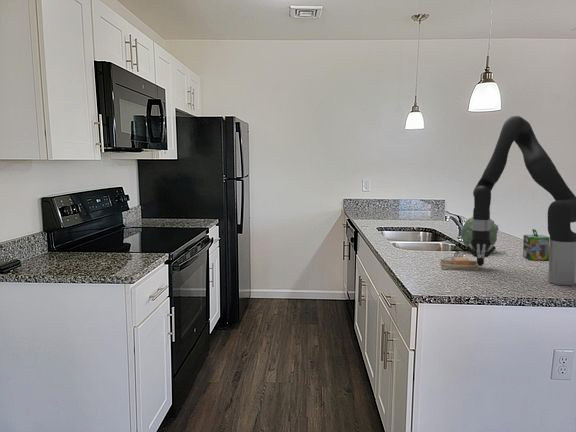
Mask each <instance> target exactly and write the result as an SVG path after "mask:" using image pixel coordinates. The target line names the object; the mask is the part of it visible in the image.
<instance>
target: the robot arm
mask: <svg viewBox="0 0 576 432" xmlns="http://www.w3.org/2000/svg"><path fill="white" fill-rule="evenodd" d="M513 143H515V144H516V145H517V146H518V149H519V150H520V151H521V154H522V158H523V162H524V166H525V168H526V170H527V172H528V173H529V175H530V176H531V178H532V180H533V181H534V182H535V183H536V184H537V185H538V186H540V187H541V188H542V189H544V190H545V191H546V192H548V194H550V195H551V196H552V197H553V199H554V201H552V202H551V203H550V204H549V206H548V208H547V232H548V234H549V238H550V240H549V260H548V276H547V278H548V279H547V281H548V282H549V283H551V284H554V285H556V286H557V285H558V286H575V285H576V232H574V231H573V230H572V228H571V223H576V195H575V194H574V192H573V191H572V190H571V189H570V188H569V186H568V184H567V183H566V182H565V180H564V179H563V177H562V175H561V174H560V172H559V171H558V169H557V167H556V166H555V164H554V162H553V161H552V159H551V157H550V156H549V154H548V153H547V152H546V151H545V149H544V148H543V146H542V145H541V144H540V142H539V141H538V139H537V136H536V134H535V132H534V130H533V127H532V126H531V124H530V122H529V121H527V120H526V119H525V118H523V117H521V116H520V115H511V116H509V117H508V118H507V119H506V120H505V121H504V123H503V125H502V128H501V130H500V133H499V137H498V140H497V142H496V144H495V147H494V149H493V153H492V155H491V157H490V159H489V161H488V163H487V165H486V167H485V169H484V171H483V173H482V175H481V177H480V179H479V180H478V182H477V184H476V185H475V187H474V189H473V191H472V194H473V195H472V196H473V199H474V201H473V202H474V203H473V206H474V208H473V211H472V217H473V223H472V241H471V244H469V245H466V246H465V247H466V249H467V250H468V252H469V253H470V254H471V255H472V256H473V257H474V258H476V261H477V265H478V266H479V267H483V266H484V264H485V258H489V256H490V255H491V254H492V253H493V252H494V251H495V250H496V246H495V245H492V244H491V242H490V219H491V218H490V217H491V208H490V207H491V201H492V190H493V188H494V186H495V185H496V183H498V181H499V180H500V178H501V175H502V174H503V172H504V170H505V169H506V165H507V161H508V156H509V153H510V149H511V147H512V146H513ZM472 246H473V247H474V248H475V250H476V251H477V252H474V251H473V250H472ZM489 246H490V249H489V250H488V251H485V250H487V249H488V247H489ZM480 251H481V253H480Z"/></svg>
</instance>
